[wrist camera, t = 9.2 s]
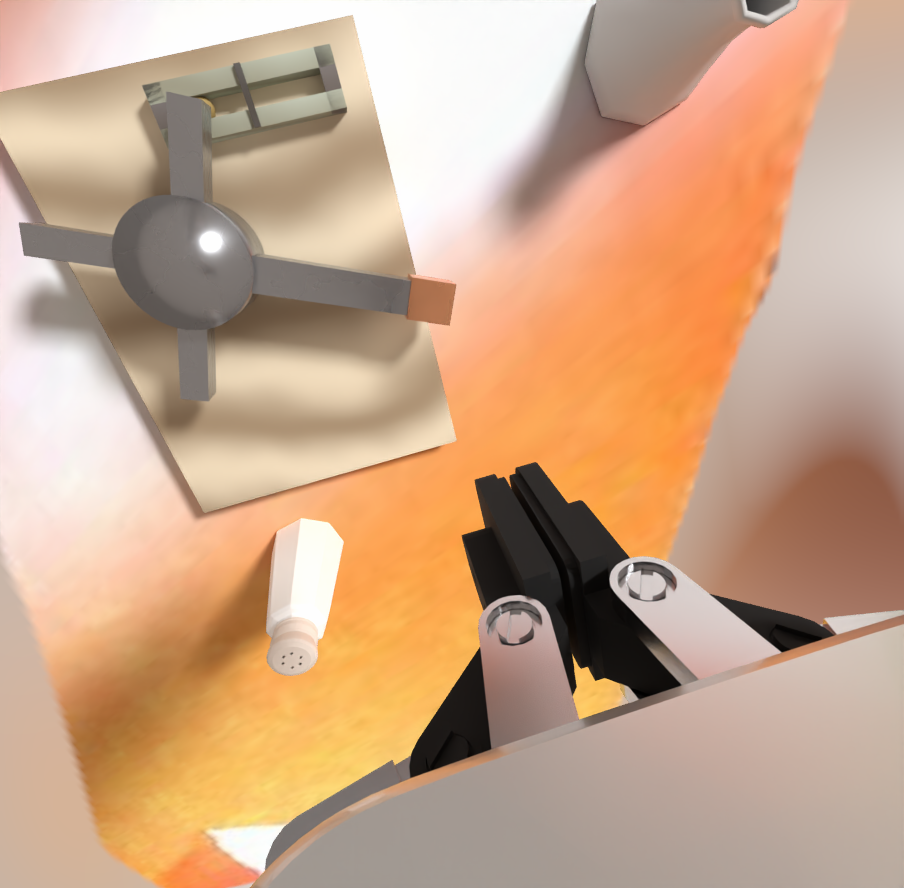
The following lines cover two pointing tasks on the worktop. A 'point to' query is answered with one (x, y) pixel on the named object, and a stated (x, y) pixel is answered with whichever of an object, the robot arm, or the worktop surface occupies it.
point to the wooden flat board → (281, 234)
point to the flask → (663, 49)
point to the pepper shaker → (300, 593)
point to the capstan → (217, 259)
